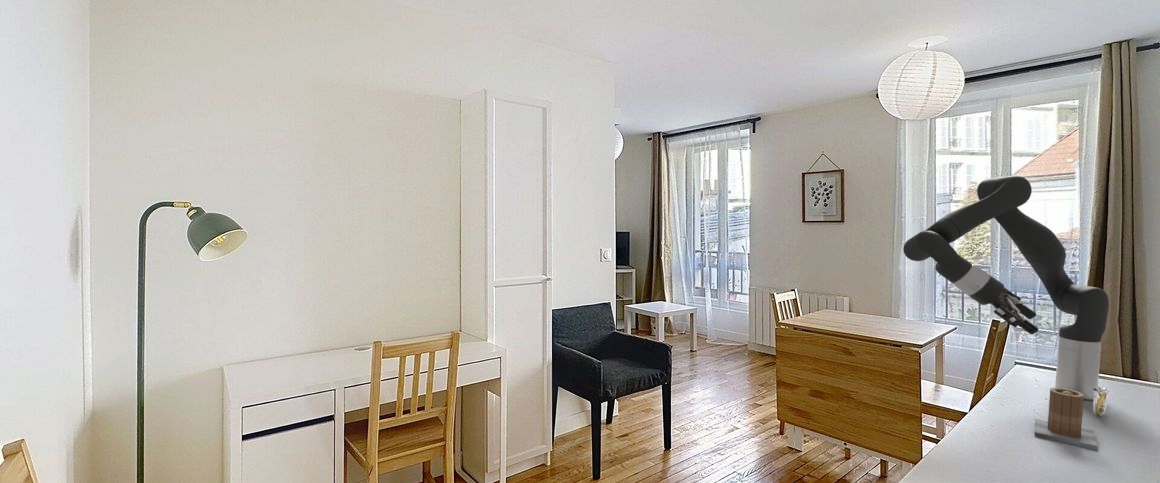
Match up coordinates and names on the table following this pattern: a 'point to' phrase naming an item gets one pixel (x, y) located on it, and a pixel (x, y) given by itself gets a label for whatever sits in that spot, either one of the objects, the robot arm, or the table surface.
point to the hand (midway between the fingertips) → (1034, 324)
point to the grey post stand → (1084, 440)
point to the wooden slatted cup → (1065, 412)
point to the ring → (1100, 400)
